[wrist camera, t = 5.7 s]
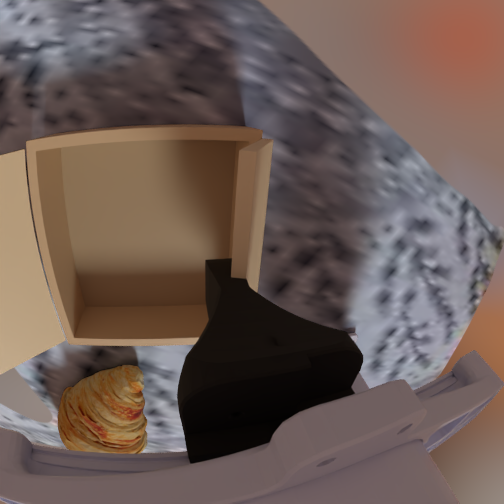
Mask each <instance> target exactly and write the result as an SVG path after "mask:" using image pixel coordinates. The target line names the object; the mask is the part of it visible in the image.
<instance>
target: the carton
mask: <svg viewBox="0 0 504 504" xmlns="http://www.w3.org/2000/svg"><path fill="white" fill-rule="evenodd" d="M262 133H263V130H260V129H255V128H251V127H246V126H230V125H199V124H169V125H138V126H122V127H108V128H98V129H88V130H79V131H71V132H64V133H57V134H52V135H48V136H44V137H40V138H36V139H33V140H29V141H26V150H27V166H28V178H29V187H30V195H31V203H32V210H33V216H34V222H35V228H36V233H37V238H38V243H39V248H40V252H41V256H42V261H43V265H44V269H45V273H46V276H47V280H48V284H49V287H50V291H51V294H52V297H53V300H54V304H55V307H56V310H57V313H58V316H59V319H60V321H61V324H62V327H63V330H64V332H65V335H66V338H67V340H68V343H69V344H74V345H100V346H162V345H190V344H196V342H197V341H198V339H199V337H200V336H201V334H202V332H203V330H204V329H205V327H206V325H207V323H208V320H209V318H208V313H207V307H206V300H205V260H209V259H226V258H232V250H233V233H234V217H235V202H236V187H237V173H238V159H239V150H241V149H243V148H245V147H247V146H249V145H251V144H253V143H255V142H257V141H259V140H261V139H262Z"/></svg>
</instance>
